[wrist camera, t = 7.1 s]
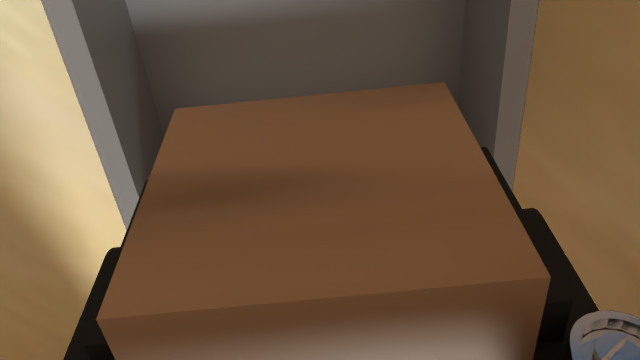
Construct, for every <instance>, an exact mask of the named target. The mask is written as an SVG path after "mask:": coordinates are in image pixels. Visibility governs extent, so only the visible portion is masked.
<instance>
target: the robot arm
mask: <svg viewBox="0 0 640 360" xmlns="http://www.w3.org/2000/svg"><path fill="white" fill-rule="evenodd" d="M480 148H481V150H482V152H483V154H484V155H485V157H486V159H487V161H488V163H489V165H490V166H491V168H492V170H493V172H494V174H495V176H496V177H497V179H498V181H499V183H500V185H501V187H502V188H503V190H504V192H505V194H506V196H507V198H508V199H509V201H510V203H511V205H512V207H513V208H514V210H515V212H516V214H517V216H518V218H519V219H520V221H521V223H522V225H523V227H524V229H525V230H526V232H527V234H528V236H529V238H530V240H531V241H532V243H533V245H534V247H535V249H536V251H537V252H538V254H539V256H540V258H541V260H542V262H543V263H544V265H545V267H546V269H547V271H548V273H549V274H550V276H551V279H550V283H549V288H548V292H547V297H546V302H545V306H544V311H543V315H542V320H541V324H540V329H539V333H538V338H537V343H536V347H535V352H534V356H533V360H640V318H638V317H635V316H633V315H630V314H626V313H621V312H617V311H599V310H598V308H597V306H596V305H595V303H594V301H593V300H592V298H591V296H590V295H589V293H588V291H587V290H586V288H585V286H584V285H583V283H582V281H581V280H580V278H579V276H578V275H577V273H576V271H575V270H574V268H573V266H572V265H571V263H570V261H569V260H568V258H567V256H566V255H565V253H564V251H563V250H562V248H561V246H560V245H559V243H558V242H557V240H556V238H555V237H554V235H553V233H552V232H551V230H550V228H549V227H548V225H547V223H546V222H545V220H544V218H543V217H542V215H541V214H540V213H539V211H538V210H536V209H534V208H529V209H522V208H521V206H520V205H519V203H518V201H517V199H516V198H515V196H514V194H513V192H512V190H511V189H510V187H509V185H508V183H507V182H506V180H505V178H504V176H503V174H502V173H501V171H500V169H499V167H498V166H497V164H496V162H495V160H494V158H493V157H492V155H491V153H490V151H489V150H488V148H487V147H480ZM148 180H149V179H147V180H146V182H145V184H144V186H143V189H142V192H141V194H140V197H139V200H138V202H137V205H136V208H135V210H134V213H133V216H132V218H131V221H130V224H129V226H128V229H127V231H126V234H125V237H124V239H123V242H122V245H121V247H116V248H112V249H110V250H109V251H108V252H107V254H106V256H105V258H104V261H103V263H102V266H101V268H100V270H99V273H98V275H97V278H96V280H95V283H94V285H93V288H92V290H91V293H90V295H89V298H88V300H87V303H86V305H85V308H84V310H83V313H82V315H81V317H80V320H79V322H78V325H77V327H76V330H75V332H74V335H73V337H72V340H71V342H70V345H69V347H68V350H67V352H66V355H65V357H64V360H115V358H114V356H113V354H112V352H111V350H110V347H109V345H108V343H107V341H106V339H105V337H104V335H103V333H102V331H101V329H100V327H99V325H98V323H97V320H96V318H97V316H98V313H99V310H100V308H101V305H102V302H103V300H104V297H105V294H106V292H107V289H108V286H109V284H110V281H111V278H112V276H113V273H114V270H115V268H116V265H117V262H118V260H119V257H120V254H121V252H122V249H123V246H124V244H125V241H126V238H127V236H128V233H129V230H130V228H131V225H132V222H133V220H134V217H135V214H136V212H137V209H138V206H139V204H140V201H141V198H142V196H143V193H144V190H145V188H146V185H147V182H148Z"/></svg>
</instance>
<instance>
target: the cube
mask: <svg viewBox="0 0 640 360" xmlns="http://www.w3.org/2000/svg"><path fill="white" fill-rule="evenodd" d="M550 279H551V276H550V274H549V273H548V271H547V269H546V267H545V265H544V263H543V262H542V260H541V258H540V256H539V254H538V252H537V251H536V249H535V247H534V245H533V243H532V241H531V240H530V238H529V236H528V234H527V232H526V230H525V229H524V227H523V225H522V223H521V221H520V219H519V218H518V216H517V214H516V212H515V210H514V208H513V207H512V205H511V203H510V201H509V199H508V198H507V196H506V194H505V192H504V190H503V188H502V187H501V185H500V183H499V181H498V179H497V177H496V176H495V174H494V172H493V170H492V168H491V166H490V165H489V163H488V161H487V159H486V157H485V155H484V154H483V152H482V150H481V148H480V146H479V144H478V143H477V141H476V139H475V137H474V135H473V133H472V132H471V130H470V128H469V126H468V124H467V122H466V121H465V119H464V117H463V115H462V113H461V111H460V110H459V108H458V106H457V104H456V102H455V100H454V99H453V97H452V95H451V93H450V91H449V89H448V88H447V86H446V84H445V82H441V83H430V84H420V85H410V86H400V87H390V88H380V89H370V90H359V91H349V92H339V93H329V94H319V95H309V96H299V97H288V98H278V99H268V100H258V101H248V102H238V103H228V104H218V105H207V106H197V107H187V108H177V109H175V110H174V113H173V115H172V118H171V121H170V123H169V126H168V129H167V131H166V134H165V137H164V139H163V142H162V145H161V147H160V150H159V153H158V155H157V158H156V161H155V163H154V166H153V169H152V171H151V174H150V177H149V180H148V182H147V185H146V188H145V190H144V193H143V196H142V198H141V201H140V204H139V206H138V209H137V212H136V214H135V217H134V220H133V222H132V225H131V228H130V230H129V233H128V236H127V238H126V241H125V244H124V246H123V249H122V252H121V254H120V257H119V260H118V262H117V265H116V268H115V270H114V273H113V276H112V278H111V281H110V284H109V286H108V289H107V292H106V294H105V297H104V300H103V302H102V305H101V308H100V310H99V313H98V316H97V318H96V320H97V323H98V325H99V327H100V329H101V331H102V333H103V335H104V337H105V339H106V341H107V343H108V345H109V347H110V350H111V352H112V354H113V356H114V358H115V360H533V356H534V352H535V347H536V343H537V338H538V333H539V329H540V324H541V320H542V315H543V311H544V306H545V302H546V297H547V292H548V288H549V283H550Z"/></svg>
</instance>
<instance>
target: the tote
mask: <svg viewBox="0 0 640 360" xmlns="http://www.w3.org/2000/svg"><path fill="white" fill-rule="evenodd" d="M41 2H42V4H43V7H44V10H45V12H46V15H47V18H48V20H49V23H50V26H51V29H52V31H53V34H54V37H55V39H56V42H57V45H58V47H59V50H60V53H61V55H62V58H63V61H64V63H65V66H66V69H67V72H68V74H69V77H70V80H71V82H72V85H73V88H74V90H75V93H76V96H77V98H78V101H79V104H80V107H81V109H82V112H83V115H84V117H85V120H86V123H87V125H88V128H89V131H90V133H91V136H92V139H93V141H94V144H95V147H96V150H97V152H98V155H99V158H100V160H101V163H102V166H103V168H104V171H105V174H106V176H107V179H108V182H109V185H110V187H111V190H112V193H113V195H114V198H115V201H116V203H117V206H118V209H119V211H120V214H121V217H122V220H123V222H124V225H125V228H126V230H127V229H128V226H129V224H130V221H131V218H132V216H133V213H134V210H135V208H136V205H137V202H138V200H139V197H140V194H141V192H142V189H143V186H144V184H145V182H146V180H147V179H149V177H150V174H151V171H152V169H153V166H154V163H155V161H156V158H157V155H158V153H159V150H160V147H161V145H162V142H163V139H164V137H165V134H166V131H167V129H168V126H169V123H170V121H171V118H172V115H173V113H174V110H175V109H177V108H187V107H197V106H207V105H218V104H228V103H238V102H248V101H258V100H268V99H278V98H288V97H299V96H309V95H319V94H329V93H339V92H349V91H359V90H370V89H380V88H390V87H400V86H410V85H420V84H430V83H441V82H445V84H446V86H447V88H448V89H449V91H450V93H451V95H452V97H453V99H454V100H455V102H456V104H457V106H458V108H459V110H460V111H461V113H462V115H463V117H464V119H465V121H466V122H467V124H468V126H469V128H470V130H471V132H472V133H473V135H474V137H475V139H476V141H477V143H478V144H479V146H480V147H487V148H488V150H489V151H490V153H491V155H492V157H493V158H494V160H495V162H496V164H497V166H498V167H499V169H500V171H501V173H502V174H503V176H504V178H505V180H506V182H507V183H508V185H509V187H510V189H511V190H513V183H514V176H515V169H516V162H517V154H518V147H519V140H520V133H521V126H522V119H523V112H524V105H525V98H526V91H527V83H528V76H529V69H530V62H531V55H532V48H533V41H534V34H535V27H536V20H537V12H538V5H539V0H41Z"/></svg>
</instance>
